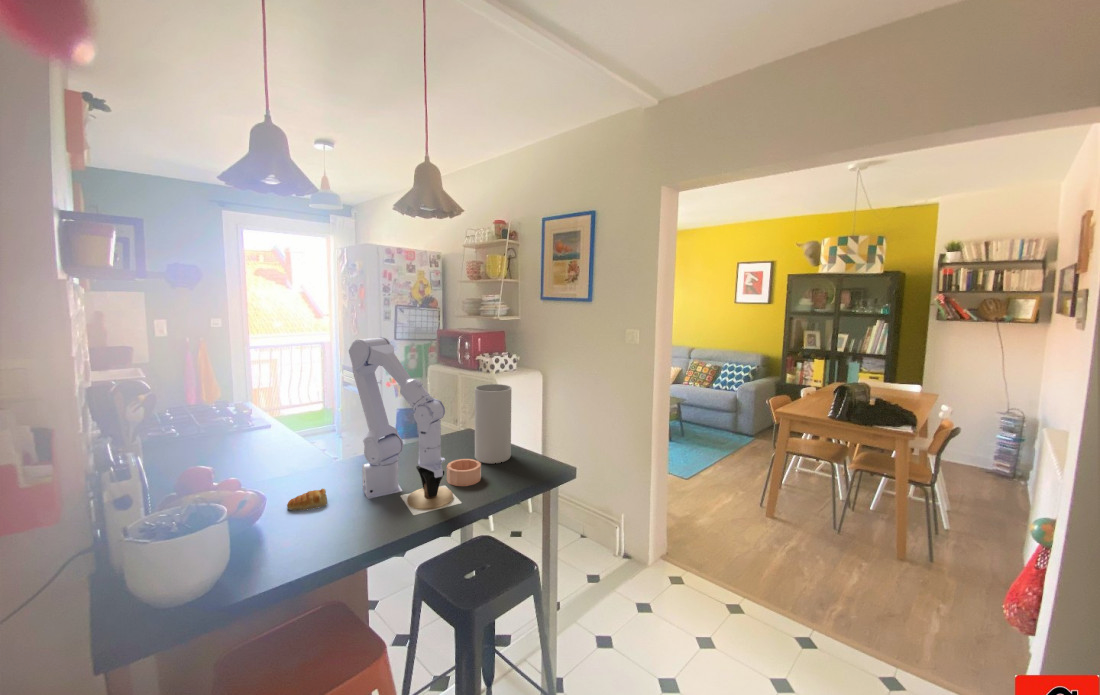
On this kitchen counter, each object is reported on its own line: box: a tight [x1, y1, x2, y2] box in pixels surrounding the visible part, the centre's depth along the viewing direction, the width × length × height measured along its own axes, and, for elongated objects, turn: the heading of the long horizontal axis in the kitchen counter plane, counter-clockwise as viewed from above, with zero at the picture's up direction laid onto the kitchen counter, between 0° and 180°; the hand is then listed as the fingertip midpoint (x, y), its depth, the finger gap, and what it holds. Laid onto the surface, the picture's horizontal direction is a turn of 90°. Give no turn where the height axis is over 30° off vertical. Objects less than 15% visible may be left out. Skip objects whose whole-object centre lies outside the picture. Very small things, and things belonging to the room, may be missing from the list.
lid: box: [407, 483, 454, 510], centre depth 119 cm, size 12×12×4 cm
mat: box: [399, 484, 463, 516], centre depth 119 cm, size 13×13×1 cm
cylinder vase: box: [474, 383, 512, 465], centre depth 151 cm, size 12×12×25 cm
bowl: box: [446, 458, 482, 487], centre depth 133 cm, size 10×10×5 cm
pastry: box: [286, 488, 328, 512], centre depth 116 cm, size 9×7×4 cm
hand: (430, 493), depth 119 cm, fingers closed on lid, 3 cm apart
